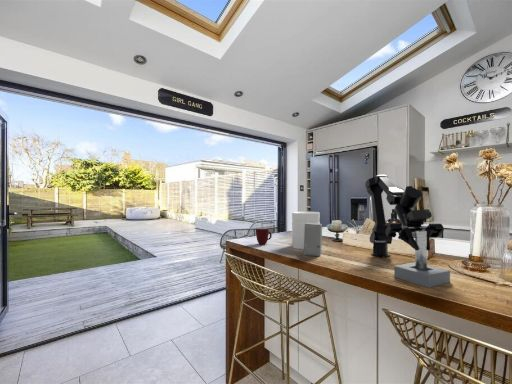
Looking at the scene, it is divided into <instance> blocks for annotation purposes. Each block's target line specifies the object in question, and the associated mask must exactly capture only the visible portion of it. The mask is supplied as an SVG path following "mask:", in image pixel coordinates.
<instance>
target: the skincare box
mask: <svg viewBox="0 0 512 384" xmlns="http://www.w3.org/2000/svg"><path fill="white" fill-rule="evenodd" d="M322 238H323V224H322V223H320V224H316V223H305V231H304V249H303V255H304V256H313V257H315V256H316V257H320V256H321V255H322V248H323V247H322V243H323V239H322Z"/></svg>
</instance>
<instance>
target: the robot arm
mask: <svg viewBox="0 0 512 384" xmlns="http://www.w3.org/2000/svg"><path fill="white" fill-rule="evenodd" d="M364 186H365V188H366V192H367V193H368V194H369V195H370V197H371V203H372V204H371V205H372V210H373V211H372V212H373V219H374V225H373V226H372V229H371V230H372V231H371V234H370V236H369V243H371V244H373V245H372V253H370V255H371V256H375V257H378V258H387V257H391V254H388V245H391V244H392V242H393V238H396V236H397V234H398V237H397V238H398V240H401V241H403V242H404V243H406V244H407V245H409V246H410V247H411V248H412V249H414V251H415V250H418V246H417V244H416V242H415V237H414V236H413V234H415V230H422V231H427V252H429V251H430V250H431V241H430V239H436V238H438V237H440V236H441V234H442V233H443V232H444V230H445V227H444V225H443V224H442V223H437V222H436V223H435V222H434V223H429V224H428V225H427V226H423V225H424V224H425V223H424V222H425V220H428V219H431V218H432V217H433V216H432V212H431V210H430V209H427V208H424V209H413V208H416V207H417V205H418V203H419V201H420V200H421V198H422V196H423V193H422V191H421V190H419V189H417V188H414V187H413V185H407V186H406V187H405V189H401V188H398V187H397V186H396V185H395V184H394V183H393V182H392V181H391V180H390V179H389V176H388V175H386V174H378V175H375V176H373V177H371V178H369V179H366V181H365V185H364ZM383 192H384V193H385V194H386V198H385V199H386V201H387V203H388V204H389V206H390V205H391V206H395V207H394V211H393V214H394V215H397V217H398V219H399V220H398V222H397V223H395V222H394V223H393V222H390V223H387V222H386V216H385V208H384V205H383V204H384V203H383V196H382V193H383Z"/></svg>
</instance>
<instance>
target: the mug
mask: <svg viewBox="0 0 512 384" xmlns="http://www.w3.org/2000/svg"><path fill="white" fill-rule="evenodd" d="M255 236H256V240H257V244H258V245H259V244H260V246H265V244H267V243H268V241H269V240H271V239H272V233H271V231H270V228H269V227H264V226H263V227H262V226H261V227H256V228H255Z"/></svg>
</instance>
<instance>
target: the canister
mask: <svg viewBox="0 0 512 384" xmlns="http://www.w3.org/2000/svg"><path fill="white" fill-rule="evenodd" d="M320 215H321V214H320V212H319V211H292V212H291V246H293V247H292V248H294V249H298V250H304V231H305V223H316V224H321V223H320V219H321V217H320Z"/></svg>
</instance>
